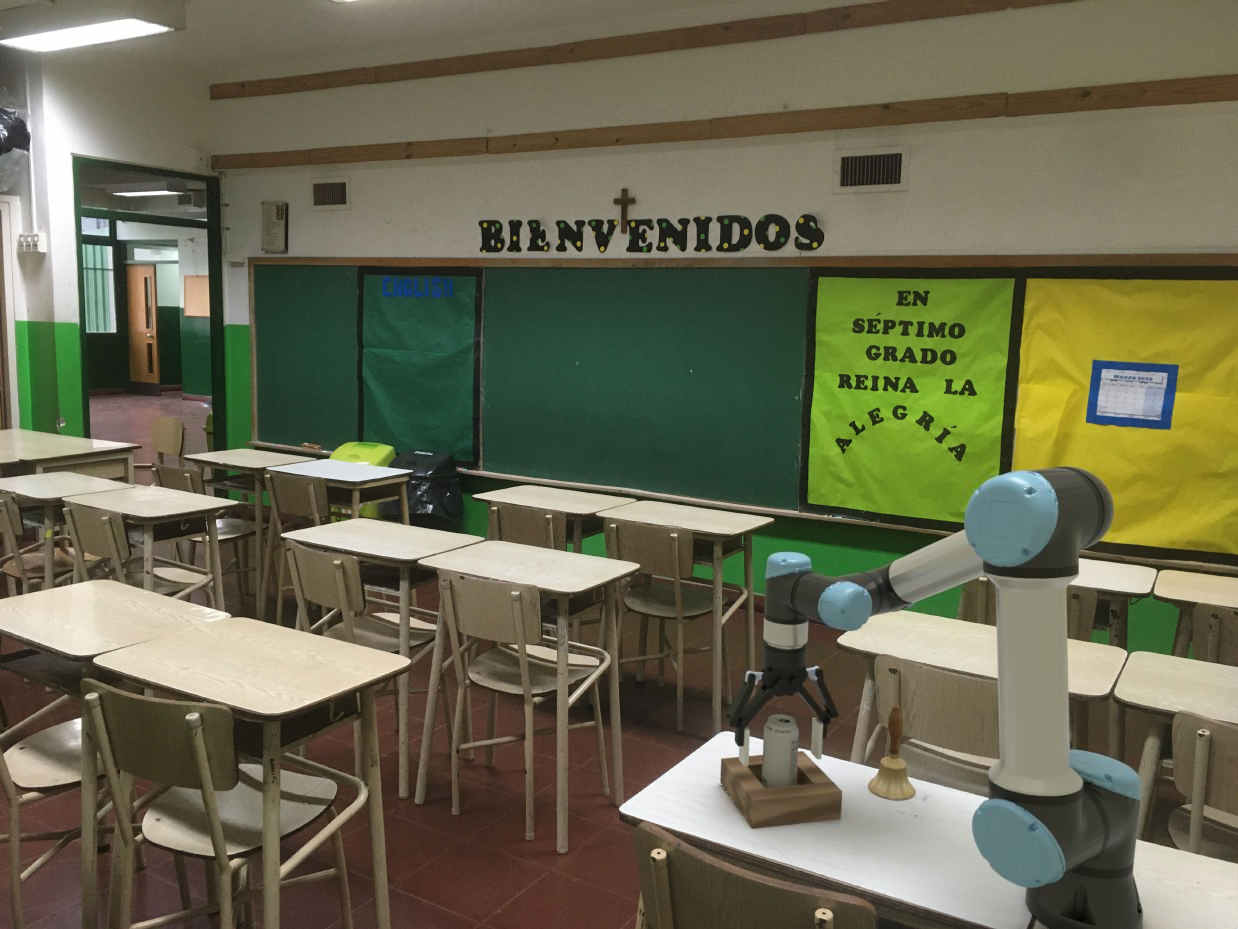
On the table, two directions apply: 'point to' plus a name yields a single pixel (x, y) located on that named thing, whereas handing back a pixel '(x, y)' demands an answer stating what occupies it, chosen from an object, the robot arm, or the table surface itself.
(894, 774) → the hand bell
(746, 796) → the square wooden frame
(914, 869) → the table surface
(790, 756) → the energy drink can
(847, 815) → the table surface
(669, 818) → the table surface
